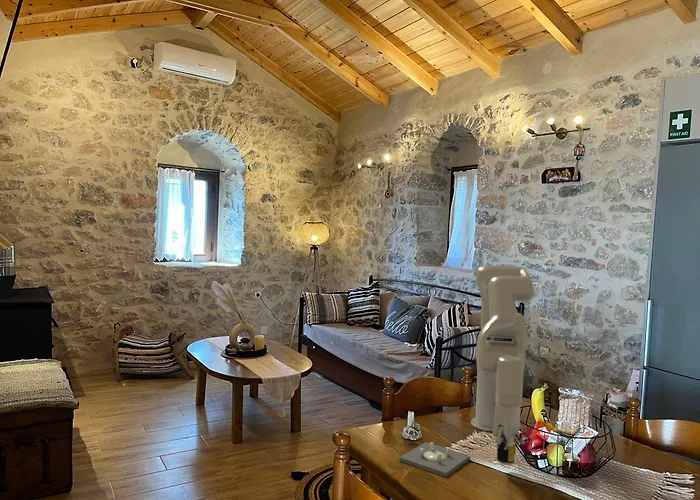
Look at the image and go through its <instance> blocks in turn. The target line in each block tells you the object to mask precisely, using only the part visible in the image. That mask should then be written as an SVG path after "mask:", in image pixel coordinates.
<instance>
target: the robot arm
mask: <svg viewBox="0 0 700 500" xmlns="http://www.w3.org/2000/svg"><path fill="white" fill-rule="evenodd" d="M475 275H476V276H475V279H476V286H477V288H478V291H479V295H480V298H481V299H480V301H481V309H480V331H479V332H478V333H479V334H478V336H477V340H476V347H475V361H476V374H477V375H476V398H475V399H476V400H475V417H473V418H472V419H471V421H470V424H471V425H472V427H473V428H476V429H478V430H481V431H486V432H492V436H493V437H496V438H495V440H494V442H495V443H496V447H497V450H496V451H497V452H496V460H497V461H498V460H499V461H502V462H505V463H507V462H508V451H509V449H507V447H508V440H509V439H510V438H512V437H513V436H514V442H515V449H516V447H517V446H516V444H517V434H518V433H519V432H520V426H521V406H522V405H523V385H524V370H525V367H526V345H527V343H526V341H527V323H526V322H527V321H526V319H525V317H524V315H523V314H522V313H520V312H518V311H517V305H516V304H517V303H516V302H520V303H521V302H522V303H523V302H525V303H527V302H528V303H529V302H531V301H532V300H533V298H534V291H535V290H534V284H533V283H534V282H533V281H532V277H531V276H530V273H529V272H528V270H527V269H526V268H524V267H523V266H505V265H484V266H483V265H482V266H480V267H478V268H477V269H476V274H475ZM488 338H498V339H499V338H500V339H501V338H502V339H511V341H508V340H507V341H506V340H491V339H490V340H489V339H488ZM502 436H505V438H504V437H502ZM502 440H505V444H504V442H502Z"/></svg>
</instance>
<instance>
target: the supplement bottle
mask: <svg viewBox="0 0 700 500" xmlns="http://www.w3.org/2000/svg"><path fill="white" fill-rule="evenodd" d="M502 437H504V438H505V436H502ZM502 442H504V444H505V440H502ZM515 443H516V442H514V436H513V437H512V438H510V439H509V440H508V447H507V449H509V451H508V462H507V463H505V462H502V461H499V460H497V461H498V463H499V464H501V465H505V466H512V465H514V464H515V458H516V457H515V456H516V448H515Z"/></svg>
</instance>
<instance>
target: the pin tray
mask: <svg viewBox="0 0 700 500" xmlns="http://www.w3.org/2000/svg"><path fill="white" fill-rule="evenodd" d="M434 443H435V442H432V441H431V442H427V441H425V442H424V443H422V444H420V445H418V446H416V447H415V448H413V449H412V450H410V451H408V452H406V453H404V454H403V455H401V456H399V462H401V463H404V464H407V465H410V466H412V467H416V468H419V469H421V470H424V471H427V472H431V473H433V474H436V475H438V476H440V477H445V478H447V477H449V476H450V475H451V474H452V473H453V472H455V471H456V470H458V469H459V468H460V467H462V466H463V465H465V464H466V463H467V462H469V461H471V455H469V454H466V453H462V452H459V451H456V450H452V449H451V447H443V446H440V445H437V444H434Z"/></svg>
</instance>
